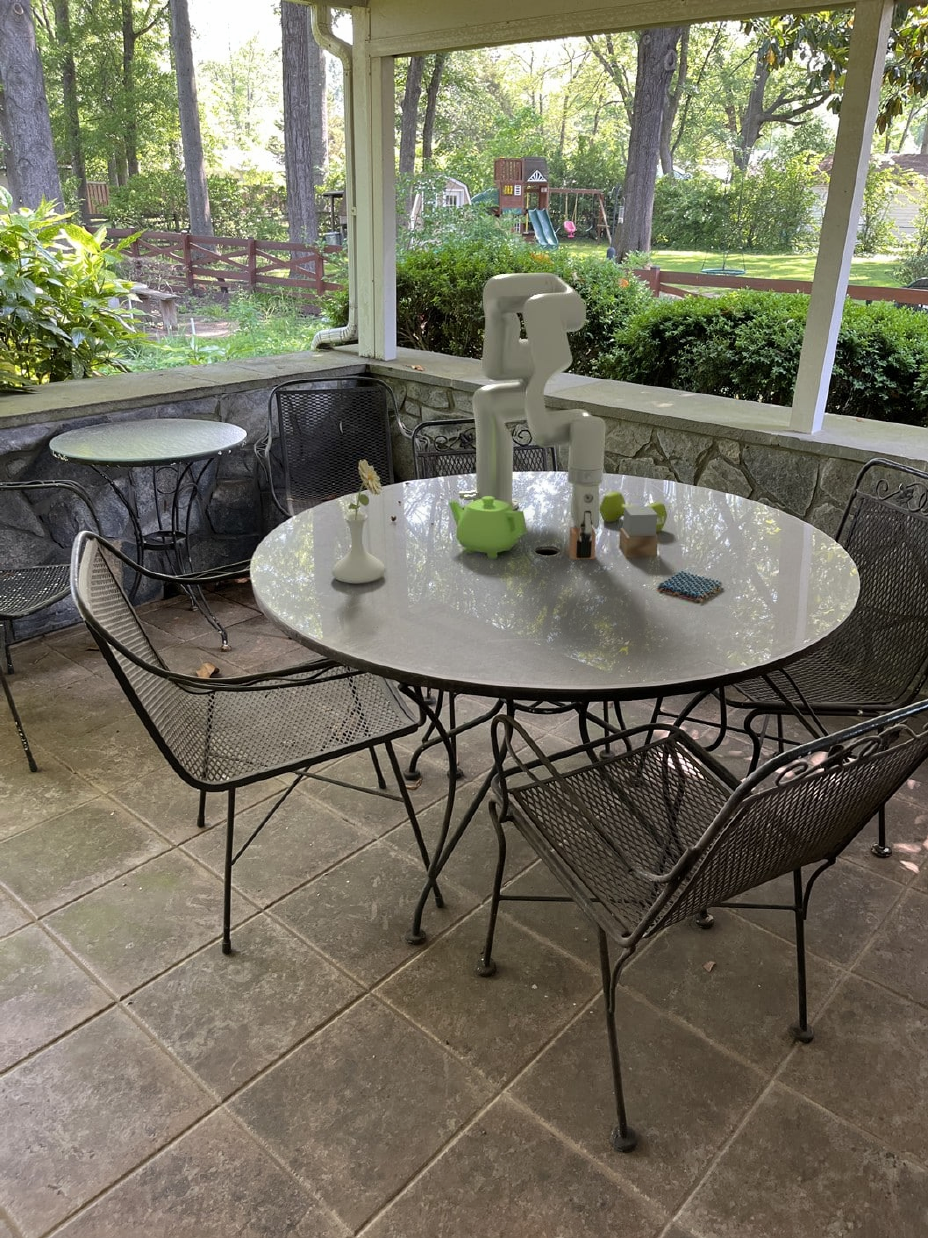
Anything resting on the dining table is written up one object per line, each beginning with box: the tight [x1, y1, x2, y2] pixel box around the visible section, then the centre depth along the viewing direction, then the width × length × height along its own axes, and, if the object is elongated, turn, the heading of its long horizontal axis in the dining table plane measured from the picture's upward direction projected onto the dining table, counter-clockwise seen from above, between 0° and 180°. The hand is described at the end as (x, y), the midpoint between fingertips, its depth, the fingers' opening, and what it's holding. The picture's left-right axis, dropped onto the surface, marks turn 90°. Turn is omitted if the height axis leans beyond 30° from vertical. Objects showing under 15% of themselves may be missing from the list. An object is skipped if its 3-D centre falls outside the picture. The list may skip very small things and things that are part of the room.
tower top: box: [622, 505, 657, 537], centre depth 195 cm, size 6×6×5 cm
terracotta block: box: [568, 526, 597, 560], centre depth 195 cm, size 5×5×6 cm
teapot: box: [448, 496, 528, 559], centre depth 198 cm, size 20×13×13 cm
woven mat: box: [656, 570, 723, 603], centre depth 178 cm, size 10×11×2 cm
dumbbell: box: [599, 491, 668, 534], centre depth 214 cm, size 16×8×7 cm, turn 43°
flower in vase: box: [331, 459, 387, 584], centre depth 181 cm, size 13×11×25 cm
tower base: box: [618, 527, 659, 559], centre depth 197 cm, size 7×7×5 cm
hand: (581, 552), depth 196 cm, fingers closed on terracotta block, 4 cm apart
